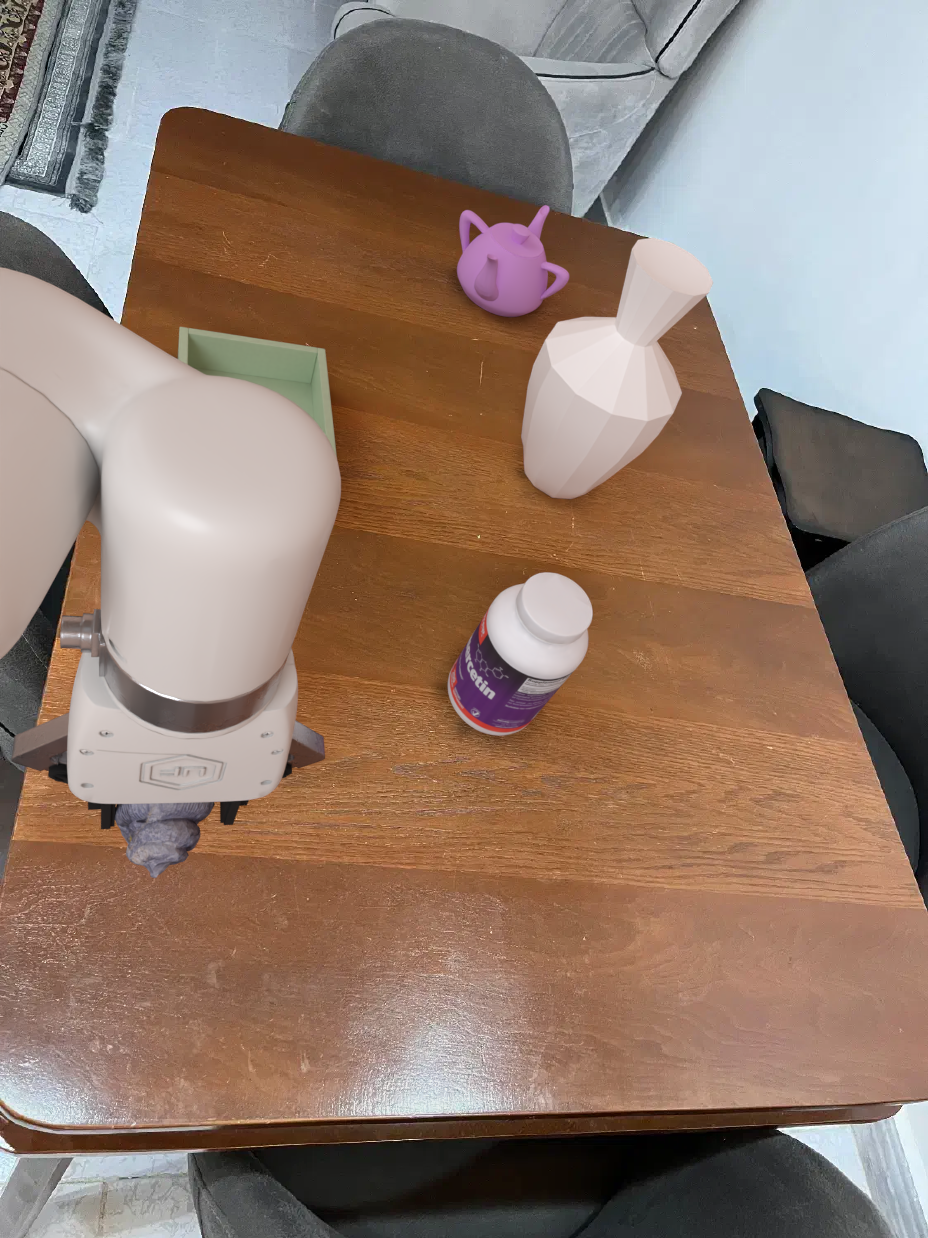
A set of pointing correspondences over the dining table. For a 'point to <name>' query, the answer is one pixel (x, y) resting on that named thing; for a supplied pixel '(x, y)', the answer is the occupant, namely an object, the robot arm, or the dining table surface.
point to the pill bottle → (521, 653)
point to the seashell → (160, 832)
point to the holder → (265, 368)
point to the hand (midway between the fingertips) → (169, 801)
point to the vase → (609, 376)
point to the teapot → (506, 266)
